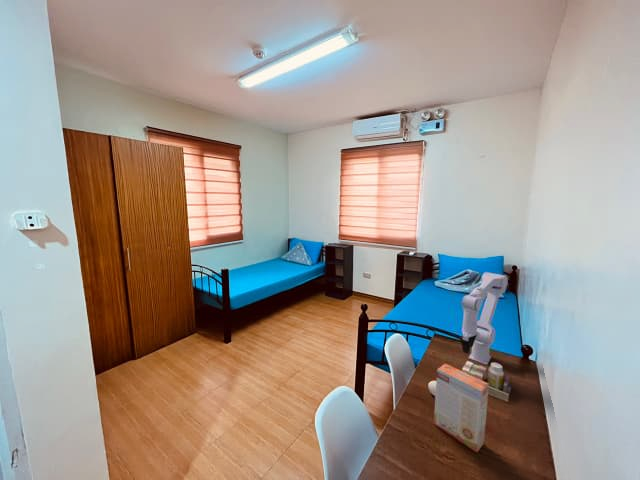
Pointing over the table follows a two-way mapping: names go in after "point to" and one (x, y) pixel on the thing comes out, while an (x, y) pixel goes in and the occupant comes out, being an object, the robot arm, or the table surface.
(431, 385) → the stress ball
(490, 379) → the supplement bottle
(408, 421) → the table surface
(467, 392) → the cracker box
